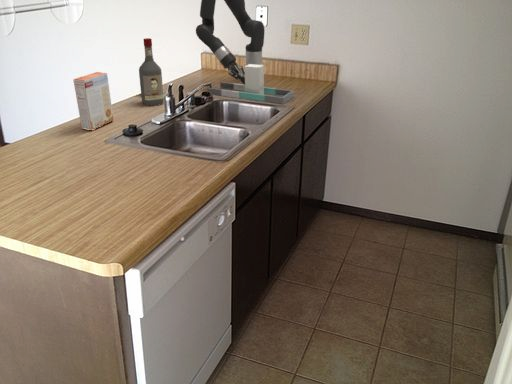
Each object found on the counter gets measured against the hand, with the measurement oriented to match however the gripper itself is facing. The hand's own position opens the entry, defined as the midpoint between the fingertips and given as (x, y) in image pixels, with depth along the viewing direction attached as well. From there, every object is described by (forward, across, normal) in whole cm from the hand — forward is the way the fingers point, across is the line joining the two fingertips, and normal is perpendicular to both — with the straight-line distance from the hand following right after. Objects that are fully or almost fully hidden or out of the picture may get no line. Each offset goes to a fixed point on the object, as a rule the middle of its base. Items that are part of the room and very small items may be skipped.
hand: (246, 83), depth 243 cm
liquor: (-19, -35, +28) cm, 49 cm away
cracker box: (-20, -73, +29) cm, 81 cm away
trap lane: (+6, 0, +2) cm, 6 cm away
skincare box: (+8, 0, +1) cm, 8 cm away
